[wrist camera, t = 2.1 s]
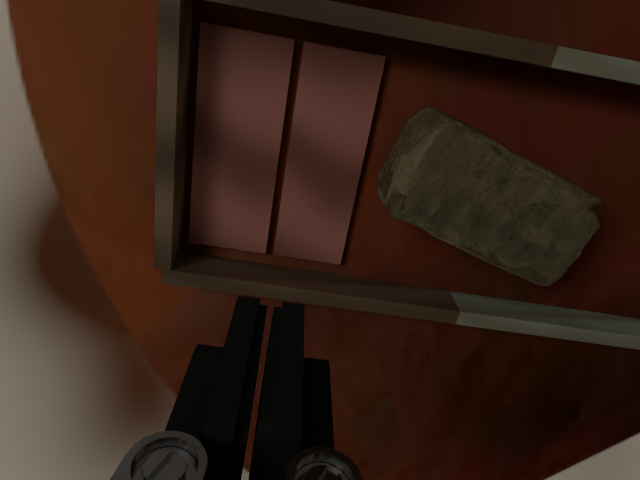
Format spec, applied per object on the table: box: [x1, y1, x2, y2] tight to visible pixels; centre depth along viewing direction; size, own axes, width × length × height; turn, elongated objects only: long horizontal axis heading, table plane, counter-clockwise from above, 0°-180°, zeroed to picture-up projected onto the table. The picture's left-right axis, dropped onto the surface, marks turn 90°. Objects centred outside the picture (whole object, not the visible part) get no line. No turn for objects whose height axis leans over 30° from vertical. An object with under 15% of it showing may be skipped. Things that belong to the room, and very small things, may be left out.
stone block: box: [377, 107, 602, 286], centre depth 26 cm, size 6×12×5 cm, turn 65°
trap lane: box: [154, 0, 640, 350], centre depth 26 cm, size 17×36×4 cm, turn 80°
